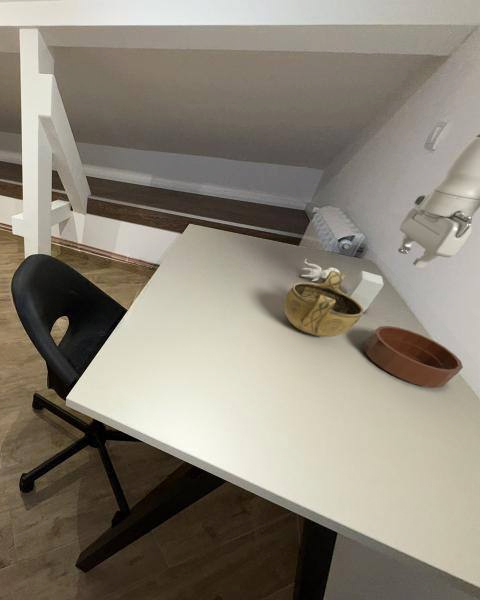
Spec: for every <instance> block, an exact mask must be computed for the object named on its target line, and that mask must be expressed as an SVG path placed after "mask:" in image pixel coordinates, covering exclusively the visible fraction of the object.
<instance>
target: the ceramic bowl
mask: <svg viewBox="0 0 480 600" xmlns="http://www.w3.org/2000/svg"><path fill="white" fill-rule="evenodd" d="M339 272H340V271H339ZM339 272H336V271H331V272H330V273H329V275H328V276H327V278H326V279H324V281H323V282H322V283H314V282H306V281H305V282H303V281H299V282H296V283H294V284H293V285H292V287H291V288H290V289H289V292H288V293H287V295H286V297H285V300H284V305H283V310H284V314H285V316H286V319H287V320H288V322H290V324H291V325H292V326H294V327H295V328H296V329H297V330H300V331H301V332H304V333H305V334H308V335H311V336H315V337H324V338H326V337H327V338H328V337H329V338H330V337H336V336H337V337H338V336H340V335H343V334H345V333H347V332H348V331H350V330H351V329H352V328H353V327H354V326H355V325H356V324H357V323H358V322H359V320H360V318H361V316H362V315H363V313H364V312H363V307H362V306H361V305H360V304H359V303H358V302H357V301H356V300H354V299H353V298H352V297H350V296H348V295H346V294H347V293H344V292H342V291H341V290H340V287H341V284H342V282H343V280H344V278H345V276H346V274H344V273H341V272H340V273H339Z"/></svg>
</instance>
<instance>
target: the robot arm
mask: <svg viewBox="0 0 480 600" xmlns="http://www.w3.org/2000/svg"><path fill="white" fill-rule="evenodd" d="M479 209H480V134H478V135H476V136H474V137H473V138H472V139H471V140H470V141H469V142H467V144H466V145H465V146H464V147H463V148H462V149H461V151H460V152H459V153H458V154H457V155H456V157H455V158H454V160H452V162H451V164H450V165H449V166H448V167H447V169H446V171H445V175H444V177H443V179H442V180H441V181H440V182H439V183H438V184H437V185H436V186H435V187H433V189H432V191H431V192H429V193H426V194H420V195H417V196H416V198H415V199H414V200H413V206H412V207H410V209H409V210H408V212H407V213H406V215H405V216H404V218H403V220H402V221H401V223H400V226H399V231H400V232H401V233H402V234H404V235H403V237H402V240H401V244H400V246H399V247H398V249H397V251H398V253H399V254H403V255H407V254H409V253H410V251H411V250H412V248H411V247H412V245H413V243H414V242H415V243H416V244H418V245H419V246H420V247H422V248H423V249H424V252H423V255H422V256H420V257H417V258H416V259H415V260H414V261H413V262H412V264H413V266H415V267H416V268H420V269H423V268H425V267H426V266H427V264H428V263H430V262H432V261H434V260H435V259H436V258H438V257H443V258H452V257H454V256H455V255H456V254H457V253H458V252H459V250H460V249H461V248H462V247H463V245H464V243H466V241H467V239H468V238H469V236H470V234H471V232H472V229H473V228H472V226H473V224H472V220H473V216H474V215H475V214H476V212H477V211H478V210H479Z"/></svg>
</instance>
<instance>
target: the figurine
mask: <svg viewBox="0 0 480 600" xmlns="http://www.w3.org/2000/svg"><path fill="white" fill-rule="evenodd" d="M307 260H308V258H305V259H304V261H303V262H304V264H305V265H307V266H310V267H313V268H310V267H309V268H308V267H302V269H301V270H303V271H307V272H308V274H301V275H300V277H301V278H307V279H309V278H311V279H312V280H311V282H317V281H318V280H319V279H320V278H322V279H324V280H325V279H326V278H327V276H328V275H329V273H330V272H331V271H336V272H339V273H341V271H340V270H338V268H335V267H328V268H327V269H322V268H321V266H320V265H318V264H316V263H309V262H307Z"/></svg>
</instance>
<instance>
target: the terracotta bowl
mask: <svg viewBox="0 0 480 600" xmlns="http://www.w3.org/2000/svg"><path fill="white" fill-rule="evenodd" d="M362 349H363V351H364V353H365V355H366V356H367V357H368V358H369V359H370V360H371V361H372V362H373V363H374V364H375V365H377V366H379V367H380V368H381V369H383V370H384V371H386V372H388V373H389V374H391V375H393V376H395V377H397V378H399V379H402V380H403V381H406V382H408V383H411V384H415V385H417V386H420V387H426V388H431V389H437V388H443V387H444V386H445V385H446V384H447V383H449V381H451V380H452V379H453V378H454V377H455V376H456V375H457V374H459V372H461V371H462V369H463V368H464V366H463V363H462V361H461V360H460V358H459V357H458V356H457V355H456V354H455V353H453V352H452V351H451V350H449V349H448V348H447V347H446V346H443V345H442V344H441V343H438V342H437V341H435V340H434V339H432V338H429V337H427V336H425V335H422V334H420V333H417V332H414V331H412V330H409V329H405V328H402V327H397V326H390V325H382V326H381V325H380V326H378V327H377V328H375V329H374V331H372V333H371V334H370V335H369V337H368V338H367V339H366V341H365V342H364V343H363V348H362Z"/></svg>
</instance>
